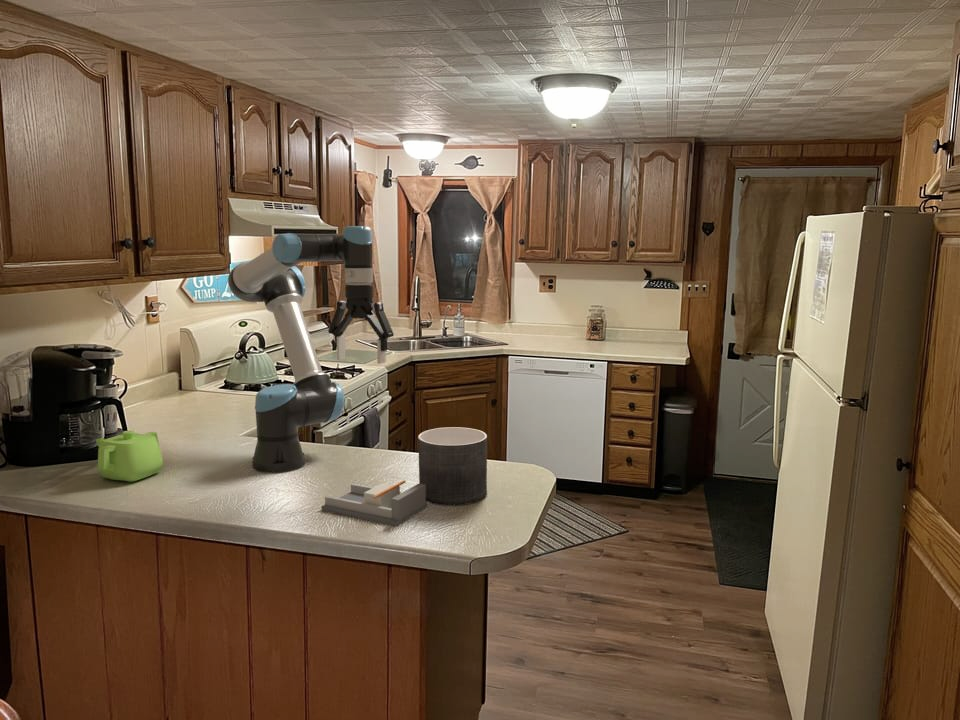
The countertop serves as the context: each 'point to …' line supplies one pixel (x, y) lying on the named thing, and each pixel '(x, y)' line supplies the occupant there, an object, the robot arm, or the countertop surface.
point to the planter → (453, 465)
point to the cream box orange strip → (382, 494)
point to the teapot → (129, 456)
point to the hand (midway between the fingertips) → (361, 361)
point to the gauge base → (394, 515)
